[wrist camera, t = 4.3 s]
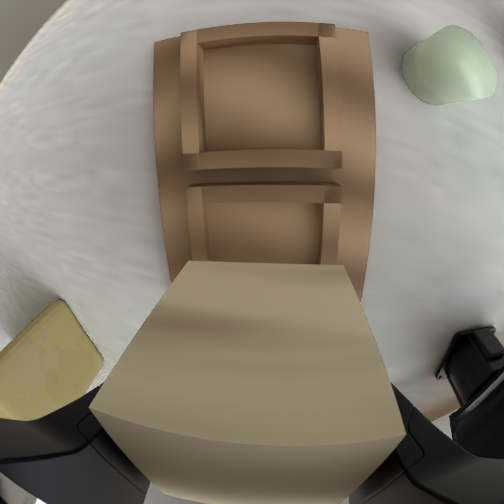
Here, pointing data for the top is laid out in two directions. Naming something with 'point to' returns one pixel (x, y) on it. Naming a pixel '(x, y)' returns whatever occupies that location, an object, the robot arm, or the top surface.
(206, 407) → the maple block
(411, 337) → the top surface
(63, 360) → the cheese
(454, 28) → the sage jar
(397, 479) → the robot arm
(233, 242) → the tray
